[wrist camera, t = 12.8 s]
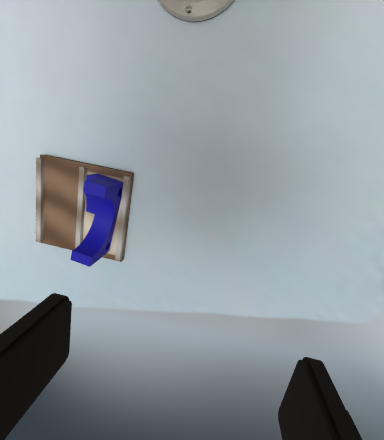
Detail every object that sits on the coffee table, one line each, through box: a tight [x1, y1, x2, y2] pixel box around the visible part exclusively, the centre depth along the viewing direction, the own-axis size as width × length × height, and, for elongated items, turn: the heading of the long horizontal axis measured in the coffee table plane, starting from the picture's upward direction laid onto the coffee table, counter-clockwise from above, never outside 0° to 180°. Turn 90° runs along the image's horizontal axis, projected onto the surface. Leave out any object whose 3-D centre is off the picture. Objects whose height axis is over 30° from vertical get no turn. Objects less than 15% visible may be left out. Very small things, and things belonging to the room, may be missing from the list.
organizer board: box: [36, 155, 134, 262], centre depth 38 cm, size 15×15×2 cm
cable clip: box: [71, 174, 123, 266], centre depth 35 cm, size 12×4×6 cm, turn 162°
